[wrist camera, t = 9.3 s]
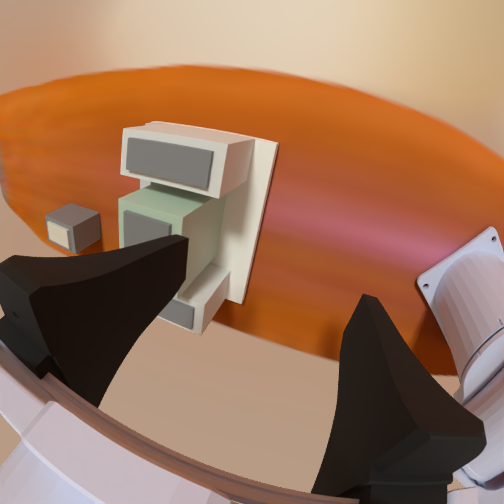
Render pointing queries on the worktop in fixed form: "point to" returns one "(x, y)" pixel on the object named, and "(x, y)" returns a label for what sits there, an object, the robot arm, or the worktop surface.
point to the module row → (211, 184)
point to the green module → (173, 222)
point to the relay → (73, 227)
